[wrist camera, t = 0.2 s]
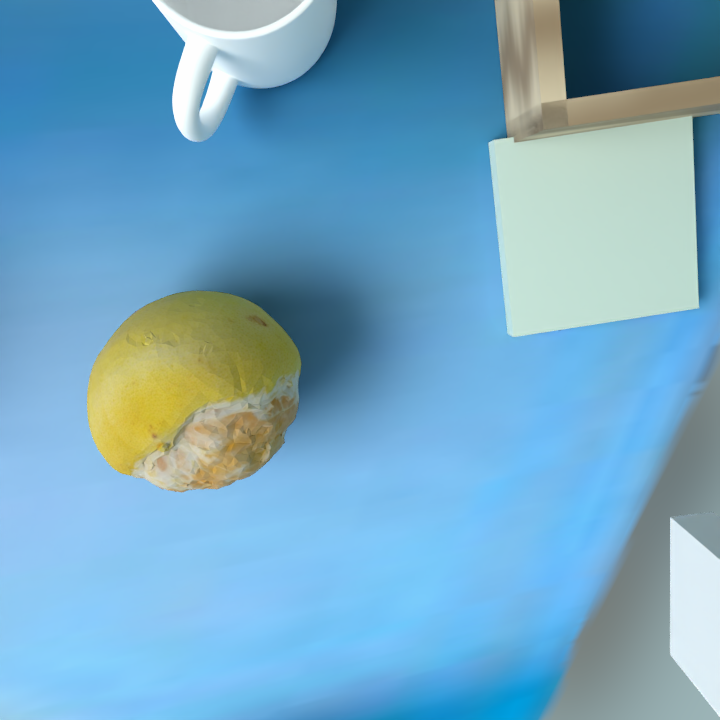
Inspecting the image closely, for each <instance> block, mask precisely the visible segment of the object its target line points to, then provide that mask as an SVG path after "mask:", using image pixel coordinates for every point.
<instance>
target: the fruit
mask: <svg viewBox="0 0 720 720" xmlns="http://www.w3.org/2000/svg"><path fill="white" fill-rule="evenodd" d="M300 372H301V358H300V354H299V351H298V349H297V347H296V345H295V344H294V342H293V341H292V339H291V338H290V336H289V335H288V334H287V333H286V332H285V330H284V329H283V328H282V327H281V326H280V325H279V324H278V323H277V322H276V321H275V320H274V319H273V318H272V317H271V316H270V315H268V314H267V313H266V312H265V311H264V310H263V309H262V308H260V307H259V306H257V305H256V304H254V303H252V302H250V301H248V300H246V299H244V298H242V297H238V296H235V295H232V294H228V293H223V292H213V291H187V292H181V293H176V294H172V295H169V296H167V297H164V298H161V299H159V300H157V301H154V302H152V303H150V304H147V305H146V306H144V307H142V308H141V309H139V310H137V311H136V312H135V313H133V314H132V315H131V316H130V317H129V318H128V319H127V320H125V321H124V322H123V323H122V325H121V326H120V327H119V328H118V329H117V331H116V332H115V333H114V334H113V336H112V337H111V338H110V339H109V341H108V342H107V344H106V345H105V346H104V348H103V349H102V351H101V352H100V353H99V355H98V357H97V359H96V361H95V363H94V365H93V368H92V371H91V375H90V379H89V385H88V393H87V412H88V421H89V427H90V430H91V434H92V437H93V440H94V442H95V444H96V446H97V448H98V450H99V451H100V452H101V454H102V455H103V457H104V458H105V459H106V461H107V462H108V463H109V465H110V466H112V467H113V468H114V469H115V470H117V471H118V472H120V473H122V474H126V475H130V476H134V477H136V478H144V479H146V480H148V481H149V482H151V483H152V484H154V485H156V486H158V487H159V488H161V489H167V490H171V491H175V492H176V491H178V492H184V491H187V490H192V489H205V488H208V489H219V488H221V487H224V486H228V485H230V484H232V483H233V482H235V481H236V480H240V479H244V478H246V477H249V476H251V475H252V474H254V473H255V472H257V471H258V470H259V469H260V468H261V467H263V466H264V465H265V464H266V463H267V462H268V461H269V460H270V459H271V458H272V456H273V455H274V454H275V453H276V452H277V451H278V450H279V449H280V448H281V446H282V444H284V443H285V442H284V436H285V432H286V430H287V427H288V426H289V425H290V424H291V423H292V422H293V421H294V419H295V417H296V413H297V410H298V404H299V392H298V382H299V376H300Z"/></svg>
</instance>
